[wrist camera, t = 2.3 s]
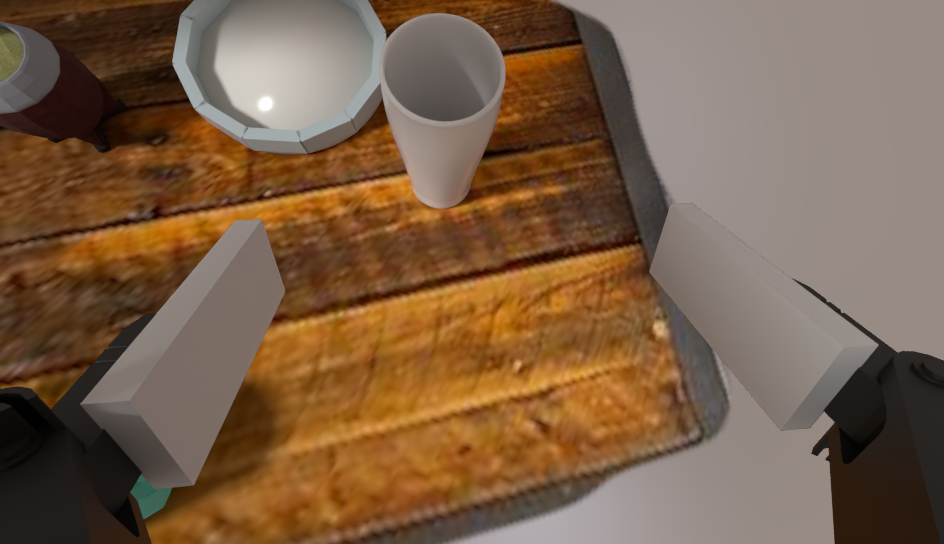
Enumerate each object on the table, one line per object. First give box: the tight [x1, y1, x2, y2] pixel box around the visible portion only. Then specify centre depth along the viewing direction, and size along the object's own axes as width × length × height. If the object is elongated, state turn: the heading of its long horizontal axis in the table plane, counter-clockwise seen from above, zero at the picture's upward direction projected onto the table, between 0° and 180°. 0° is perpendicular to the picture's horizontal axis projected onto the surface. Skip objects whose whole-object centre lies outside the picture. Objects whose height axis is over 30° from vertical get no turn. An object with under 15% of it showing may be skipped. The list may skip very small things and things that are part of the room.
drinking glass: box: [379, 13, 506, 209], centre depth 28 cm, size 7×7×15 cm
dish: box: [172, 0, 387, 155], centre depth 35 cm, size 17×17×2 cm
